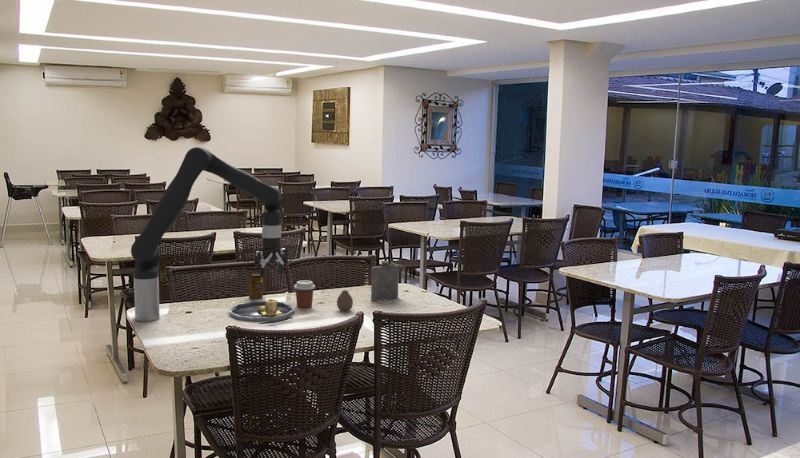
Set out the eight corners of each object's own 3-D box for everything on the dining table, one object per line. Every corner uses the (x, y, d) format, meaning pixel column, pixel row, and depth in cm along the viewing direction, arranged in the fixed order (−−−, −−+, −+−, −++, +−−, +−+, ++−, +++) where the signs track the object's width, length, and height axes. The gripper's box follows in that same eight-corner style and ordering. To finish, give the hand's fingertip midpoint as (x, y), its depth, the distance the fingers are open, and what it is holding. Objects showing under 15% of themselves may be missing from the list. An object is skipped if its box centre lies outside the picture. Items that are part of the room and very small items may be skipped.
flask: (369, 300, 303) (369, 261, 300) (394, 296, 311) (395, 259, 308) (373, 301, 300) (373, 263, 297) (399, 298, 308) (400, 260, 305)
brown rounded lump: (355, 310, 284) (356, 291, 283) (344, 313, 279) (344, 293, 278) (345, 307, 289) (345, 288, 287) (333, 310, 284) (333, 290, 282)
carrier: (218, 313, 274) (218, 297, 273) (271, 303, 292) (271, 288, 291) (251, 327, 255) (251, 310, 254) (305, 316, 273) (305, 300, 272)
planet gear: (256, 315, 268) (256, 300, 267) (274, 312, 274) (274, 296, 273) (268, 319, 262) (268, 304, 261) (285, 316, 268) (285, 300, 267)
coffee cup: (289, 309, 283) (289, 282, 281) (302, 305, 291) (302, 278, 289) (306, 312, 279) (307, 285, 277) (319, 308, 287) (319, 281, 285)
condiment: (263, 298, 301) (263, 272, 299) (264, 302, 293) (263, 276, 291) (247, 298, 300) (247, 273, 298) (247, 303, 291) (247, 277, 290)
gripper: (281, 233, 271) (280, 271, 273) (251, 236, 261) (251, 275, 263) (291, 235, 266) (291, 274, 268) (261, 238, 256) (261, 279, 258)
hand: (271, 275), depth 266 cm, fingers open, 8 cm apart
